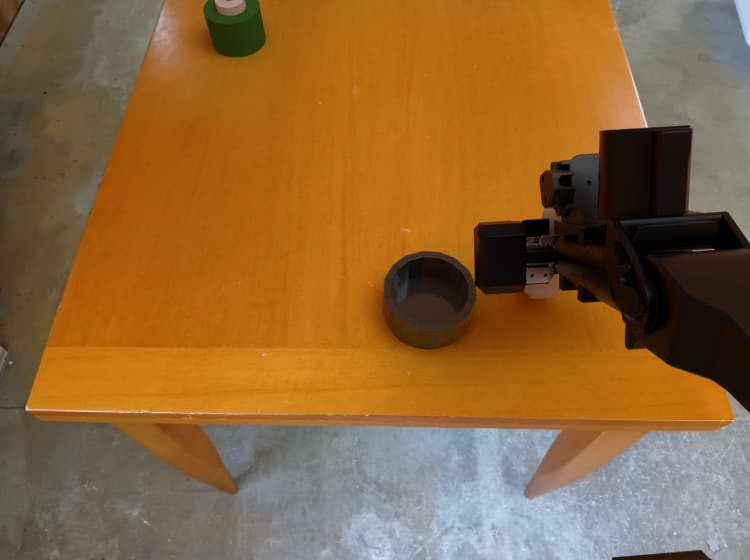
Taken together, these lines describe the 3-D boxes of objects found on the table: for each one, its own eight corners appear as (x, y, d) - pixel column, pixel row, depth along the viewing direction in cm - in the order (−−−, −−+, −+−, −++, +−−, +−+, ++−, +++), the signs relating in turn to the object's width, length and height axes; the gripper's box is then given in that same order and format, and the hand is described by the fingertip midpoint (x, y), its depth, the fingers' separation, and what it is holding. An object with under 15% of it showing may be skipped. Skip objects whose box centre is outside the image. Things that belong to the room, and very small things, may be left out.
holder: (488, 313, 63) (495, 292, 59) (425, 366, 60) (428, 348, 56) (428, 259, 67) (431, 236, 63) (365, 306, 63) (364, 285, 60)
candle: (238, 64, 86) (223, 1, 77) (201, 42, 88) (182, -20, 80) (276, 37, 89) (266, -26, 81) (239, 17, 92) (225, -46, 83)
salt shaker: (567, 307, 62) (607, 234, 51) (514, 306, 62) (543, 233, 51) (558, 262, 65) (594, 184, 54) (508, 262, 65) (534, 184, 54)
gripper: (748, 151, 42) (641, 153, 57) (496, 167, 41) (456, 164, 56) (736, 298, 44) (637, 262, 59) (498, 315, 44) (459, 274, 59)
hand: (548, 238), depth 58 cm, fingers closed on salt shaker, 3 cm apart
